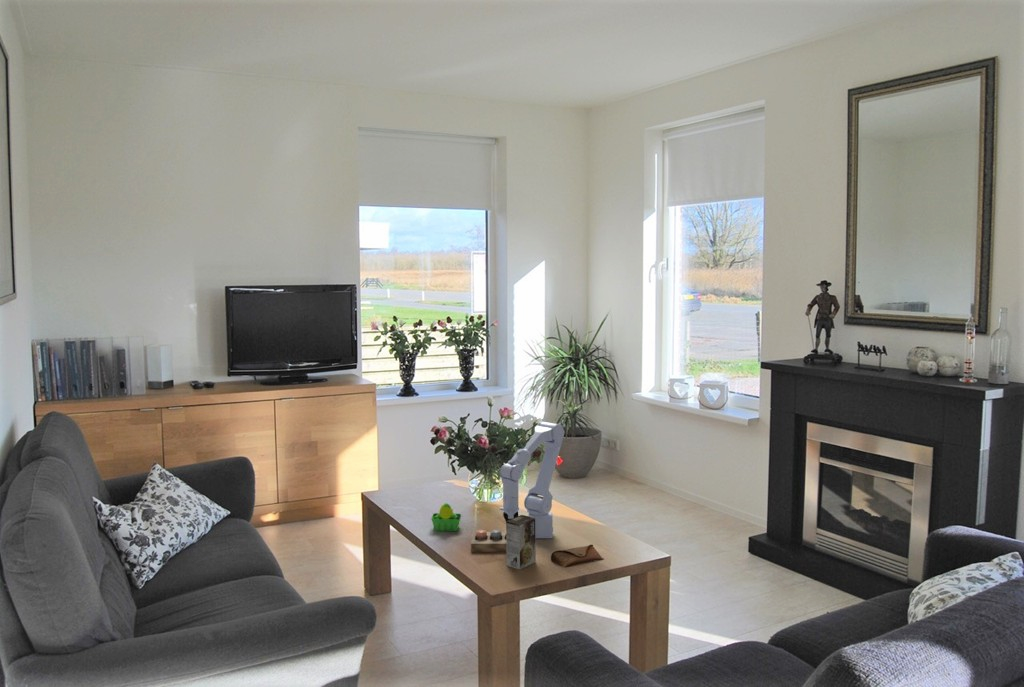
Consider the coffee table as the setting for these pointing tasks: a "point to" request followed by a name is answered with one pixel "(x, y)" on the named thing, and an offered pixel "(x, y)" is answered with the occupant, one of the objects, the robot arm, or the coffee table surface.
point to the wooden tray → (488, 543)
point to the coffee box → (520, 542)
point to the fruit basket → (446, 519)
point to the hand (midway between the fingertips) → (510, 531)
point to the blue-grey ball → (495, 534)
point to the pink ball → (481, 534)
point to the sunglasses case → (575, 556)
